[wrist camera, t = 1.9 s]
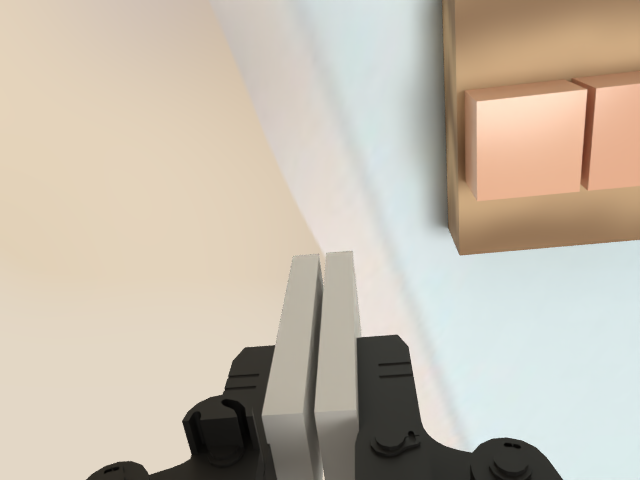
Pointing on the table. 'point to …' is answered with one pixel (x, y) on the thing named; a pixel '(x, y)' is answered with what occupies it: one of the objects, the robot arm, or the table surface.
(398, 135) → the table surface
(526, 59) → the board
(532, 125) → the tile
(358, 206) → the table surface
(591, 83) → the tile
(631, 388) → the table surface
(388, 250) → the table surface
